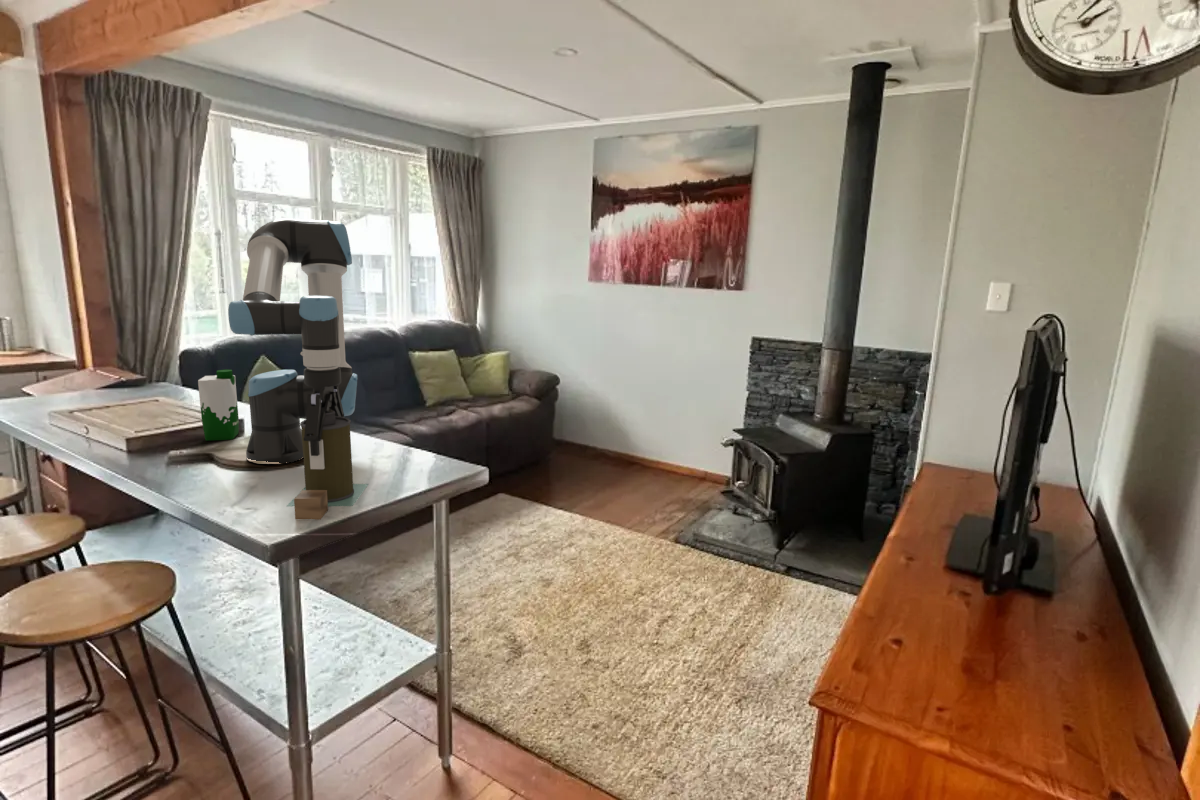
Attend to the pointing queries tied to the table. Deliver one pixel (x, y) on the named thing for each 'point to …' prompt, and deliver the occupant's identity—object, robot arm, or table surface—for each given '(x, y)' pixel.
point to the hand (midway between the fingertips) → (327, 458)
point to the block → (311, 504)
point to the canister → (331, 459)
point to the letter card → (348, 501)
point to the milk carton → (219, 406)
